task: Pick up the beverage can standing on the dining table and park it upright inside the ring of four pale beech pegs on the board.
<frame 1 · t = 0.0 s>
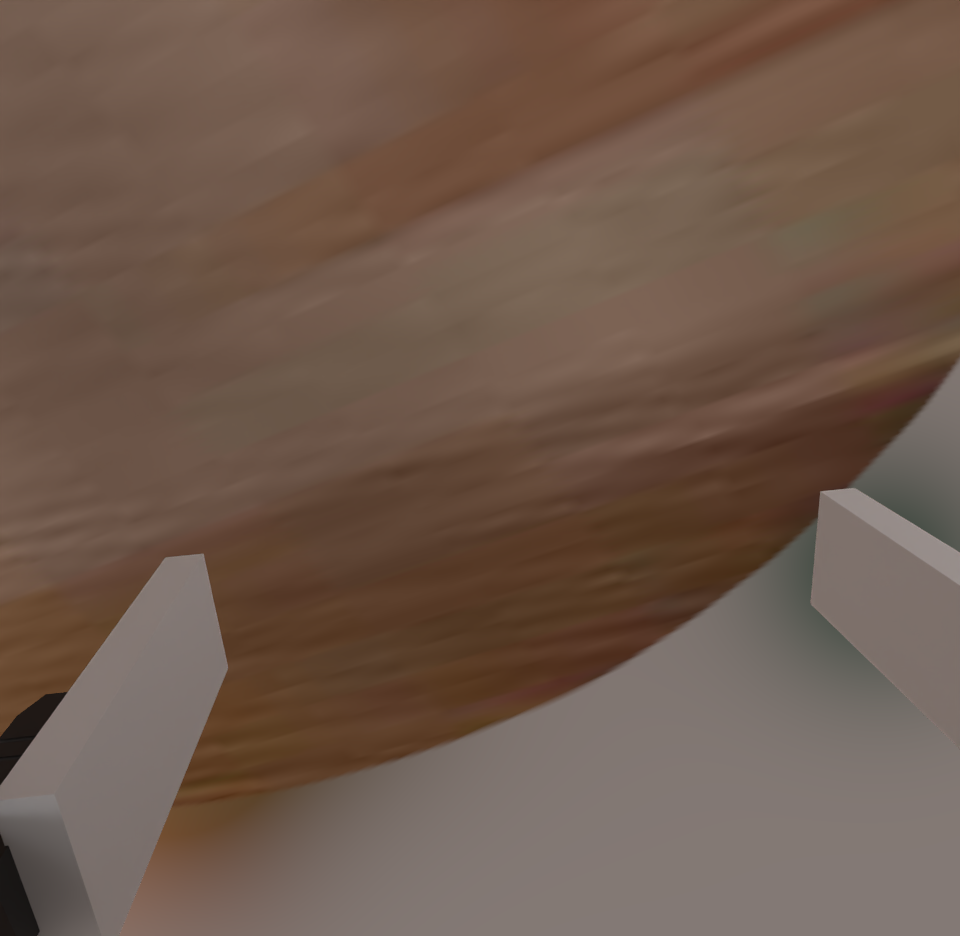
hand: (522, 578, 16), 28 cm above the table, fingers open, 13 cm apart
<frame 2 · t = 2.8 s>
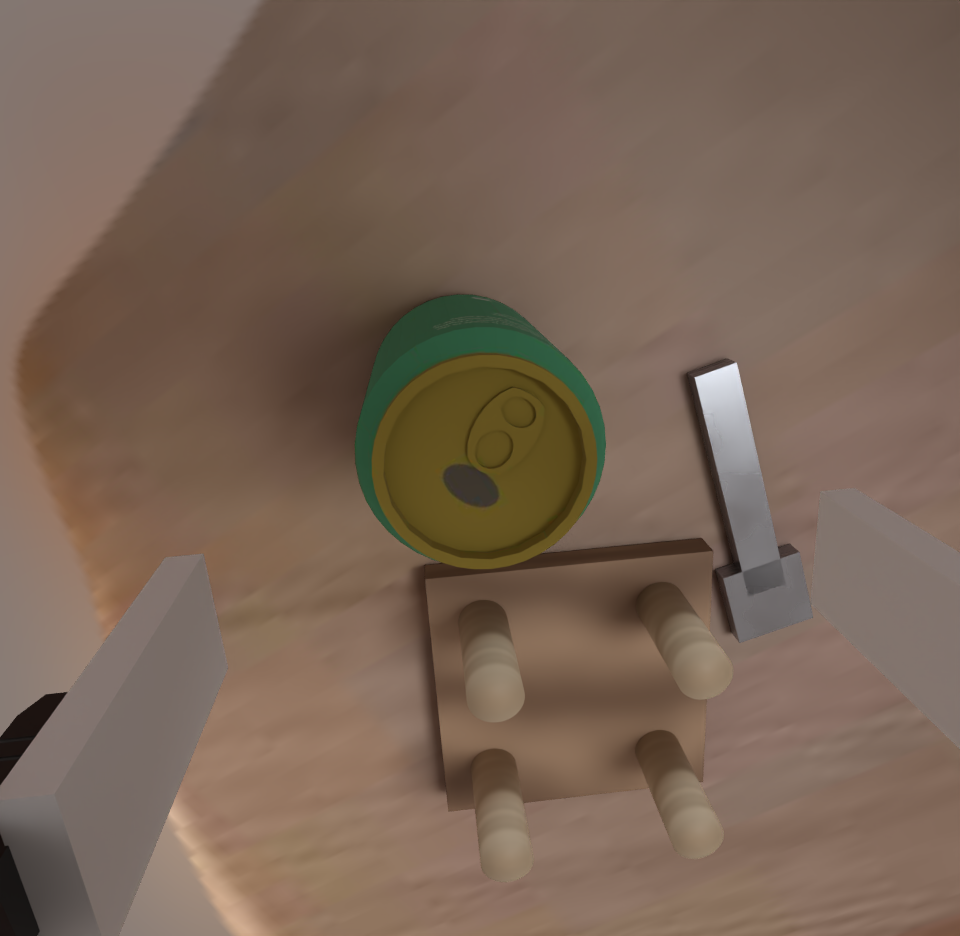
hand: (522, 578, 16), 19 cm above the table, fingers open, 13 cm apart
grey square paddle: (732, 478, 36), on the table
beverage can: (461, 380, 33), on the table
peg board: (568, 670, 39), on the table
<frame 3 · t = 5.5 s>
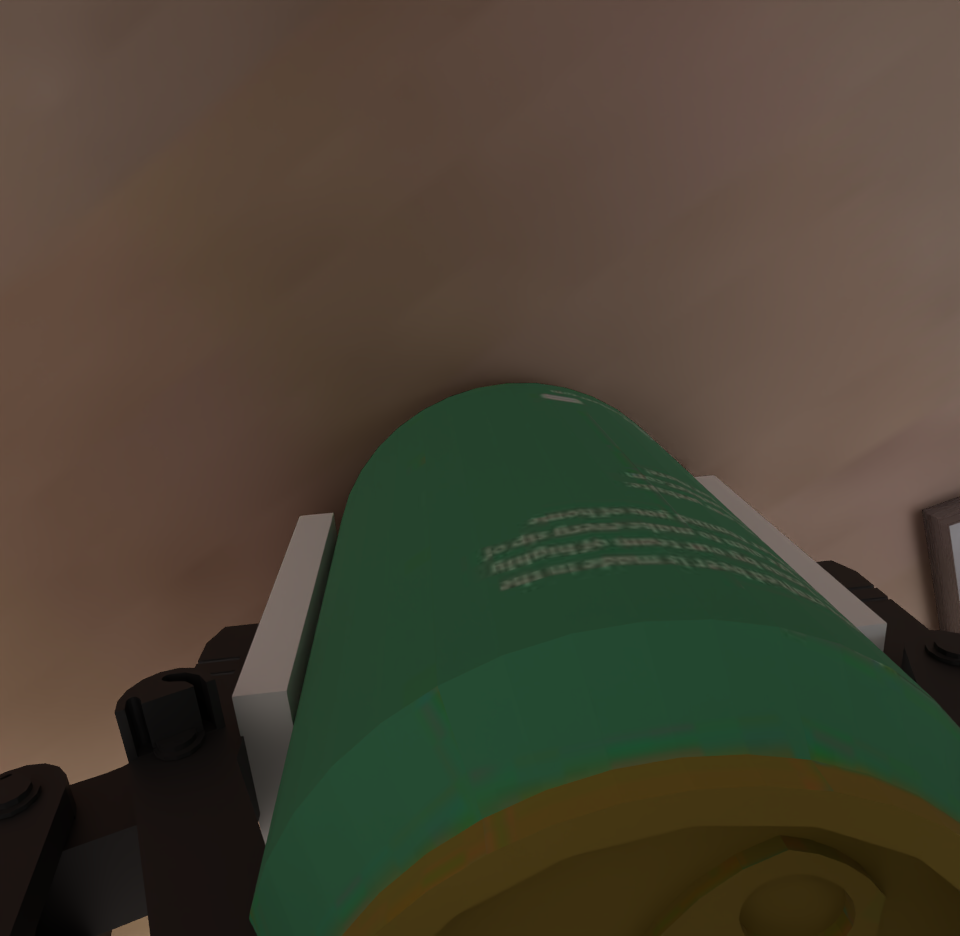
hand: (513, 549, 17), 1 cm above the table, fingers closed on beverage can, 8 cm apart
beverage can: (508, 532, 18), on the table, touching gripper
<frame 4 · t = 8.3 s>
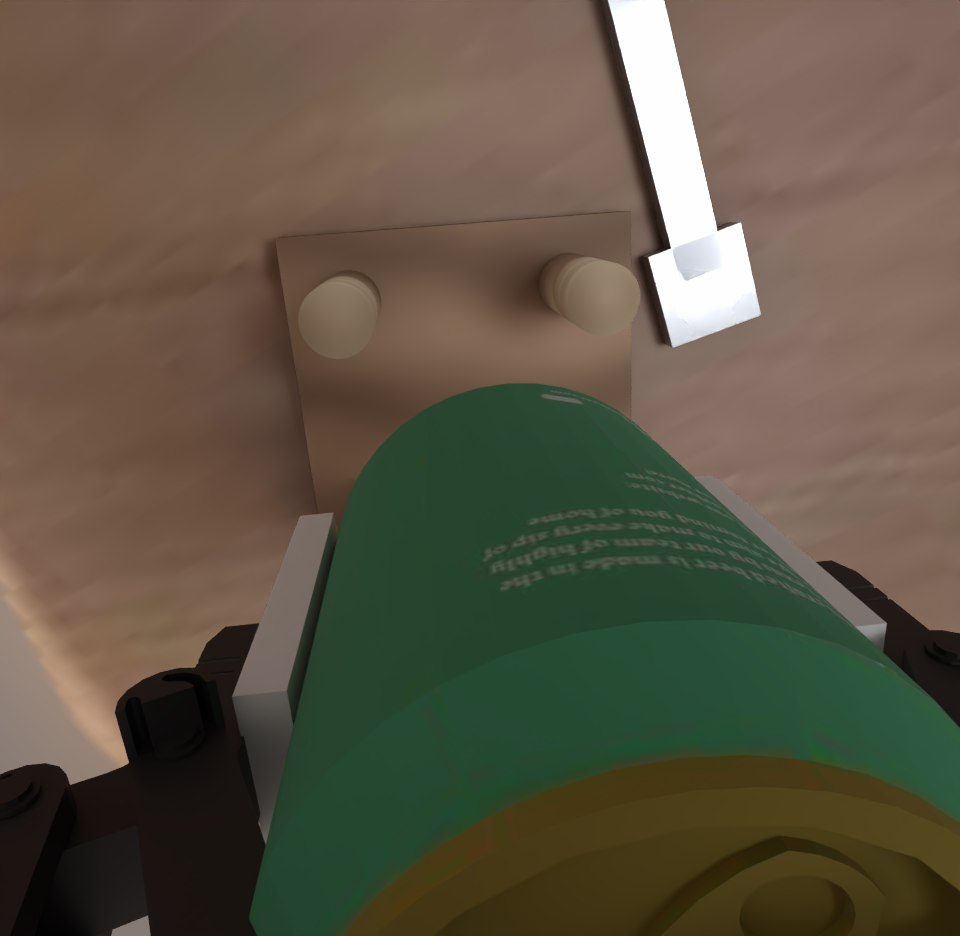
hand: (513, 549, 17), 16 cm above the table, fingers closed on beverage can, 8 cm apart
grey square paddle: (657, 130, 30), on the table
beverage can: (508, 532, 18), point 15 cm above the table, touching gripper
peg board: (466, 390, 32), on the table
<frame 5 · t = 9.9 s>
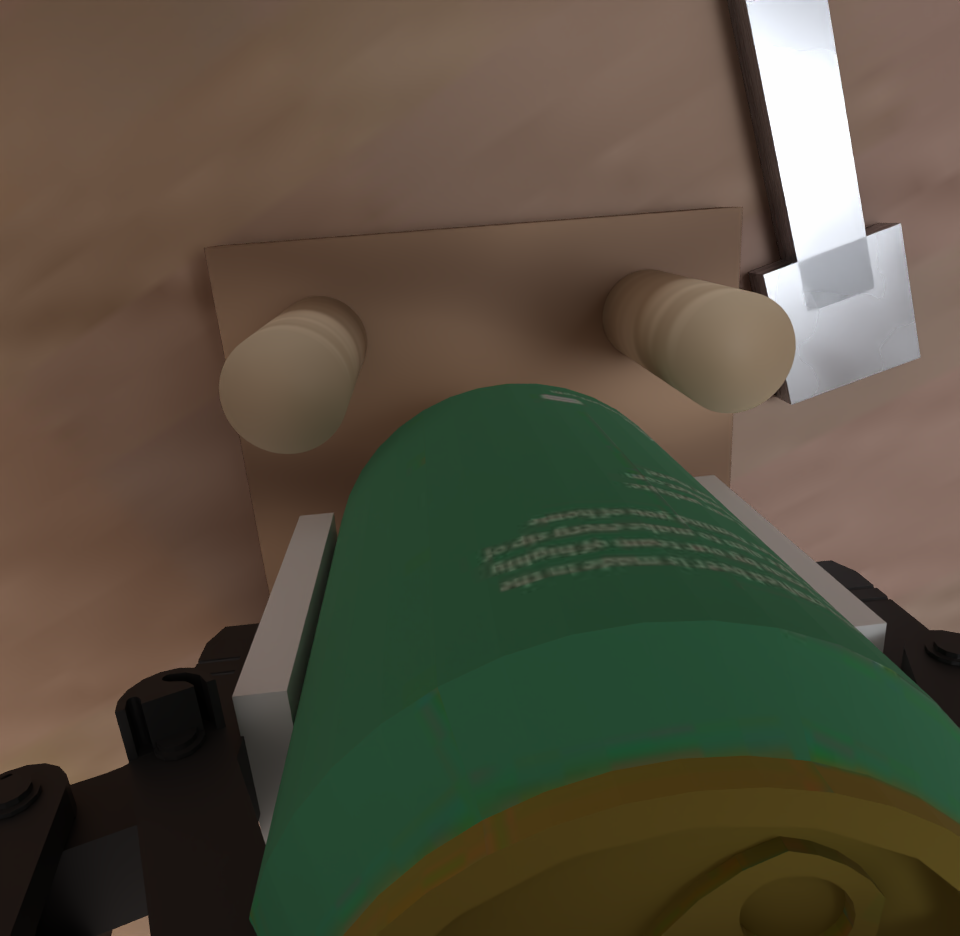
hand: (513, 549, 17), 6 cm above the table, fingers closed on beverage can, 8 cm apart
grey square paddle: (779, 86, 20), on the table
beverage can: (508, 532, 18), point 5 cm above the table, touching gripper
peg board: (491, 463, 23), on the table
when the fingers open (4 cm above the table, at t = 11.2 s): beverage can drops 2 cm, resting on peg board.
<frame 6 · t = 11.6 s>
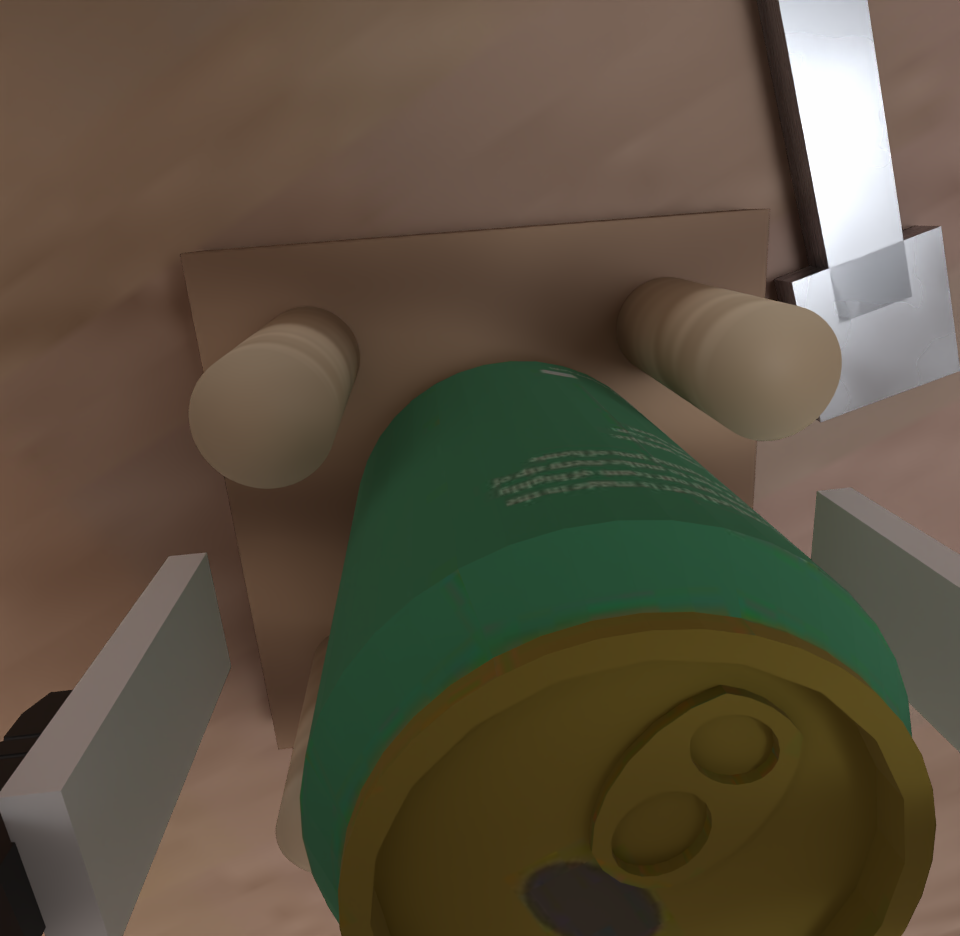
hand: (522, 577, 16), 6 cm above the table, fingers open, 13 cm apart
grey square paddle: (808, 77, 18), on the table
beverage can: (509, 499, 20), point 1 cm above the table, touching peg board
peg board: (494, 485, 21), on the table
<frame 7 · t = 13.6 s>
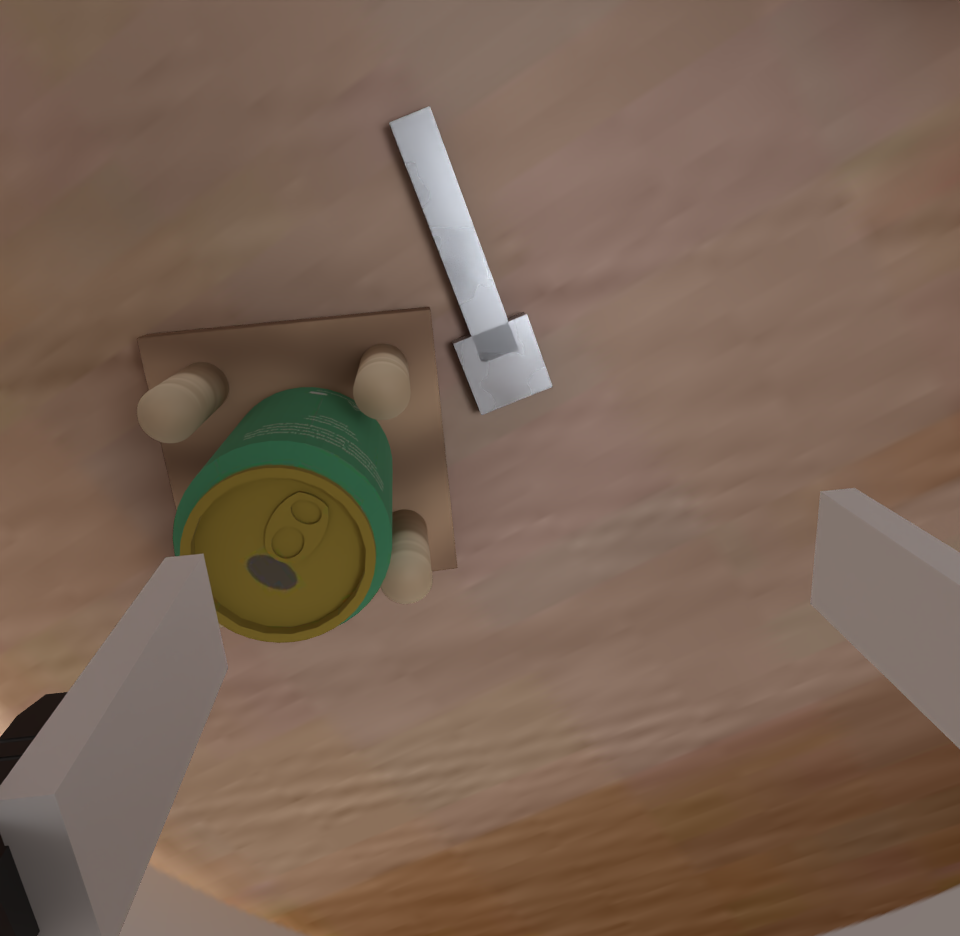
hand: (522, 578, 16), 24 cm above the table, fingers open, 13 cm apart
grey square paddle: (455, 241, 37), on the table
beverage can: (314, 458, 38), point 1 cm above the table, touching peg board
peg board: (311, 453, 39), on the table
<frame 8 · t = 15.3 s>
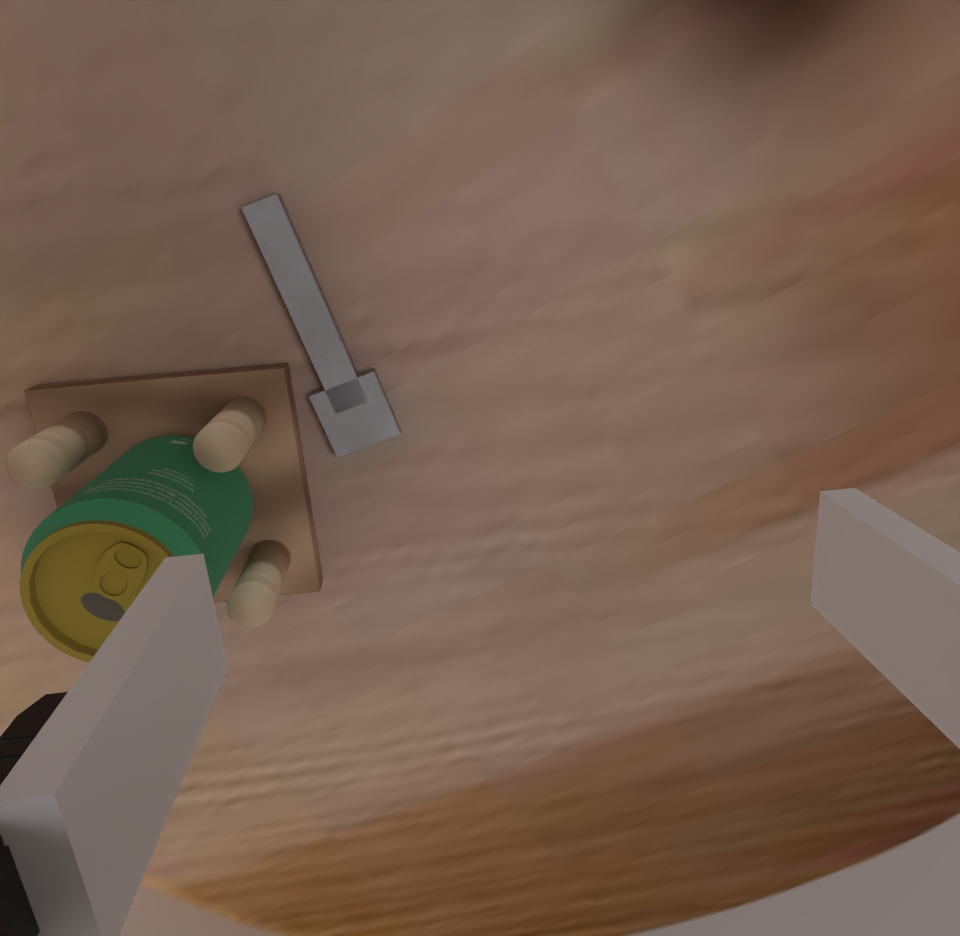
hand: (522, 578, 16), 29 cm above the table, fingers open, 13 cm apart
grey square paddle: (310, 306, 41), on the table
beverage can: (187, 494, 43), point 1 cm above the table, touching peg board
peg board: (189, 488, 44), on the table
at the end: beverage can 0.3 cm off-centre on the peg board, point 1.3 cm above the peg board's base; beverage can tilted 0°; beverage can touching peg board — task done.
